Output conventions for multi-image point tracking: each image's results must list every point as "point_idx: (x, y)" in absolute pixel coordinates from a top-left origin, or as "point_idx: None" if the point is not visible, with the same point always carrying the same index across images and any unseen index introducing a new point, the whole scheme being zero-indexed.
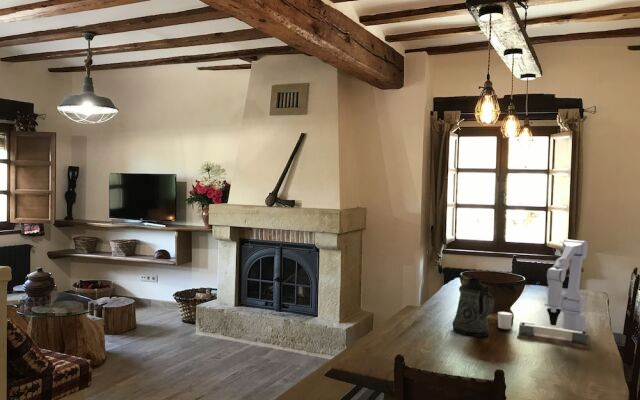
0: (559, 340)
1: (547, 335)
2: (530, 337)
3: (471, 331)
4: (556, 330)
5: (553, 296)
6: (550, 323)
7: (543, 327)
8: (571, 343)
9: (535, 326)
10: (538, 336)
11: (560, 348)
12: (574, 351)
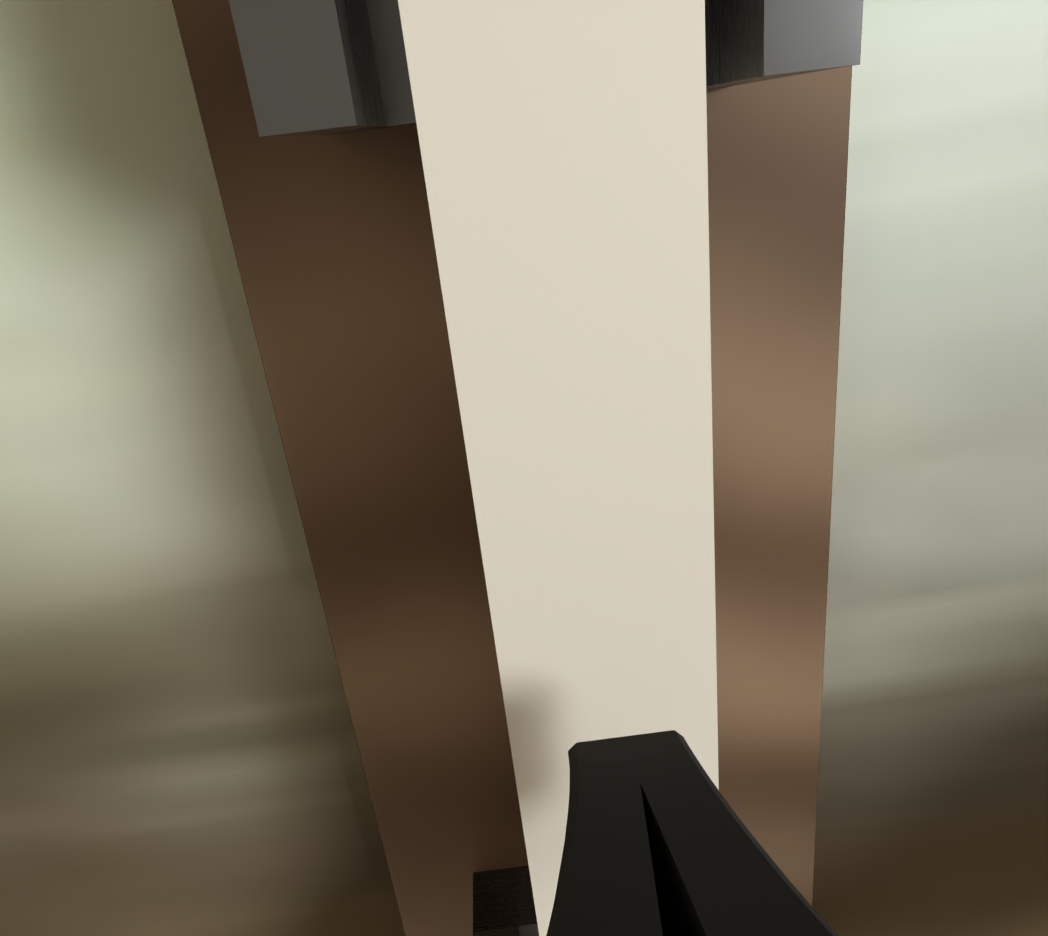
0: (484, 695)
1: (749, 429)
2: (221, 82)
3: None
4: (520, 787)
5: None
6: (571, 777)
7: (504, 476)
8: (427, 873)
9: (440, 193)
10: None
11: (94, 742)
12: (115, 917)
